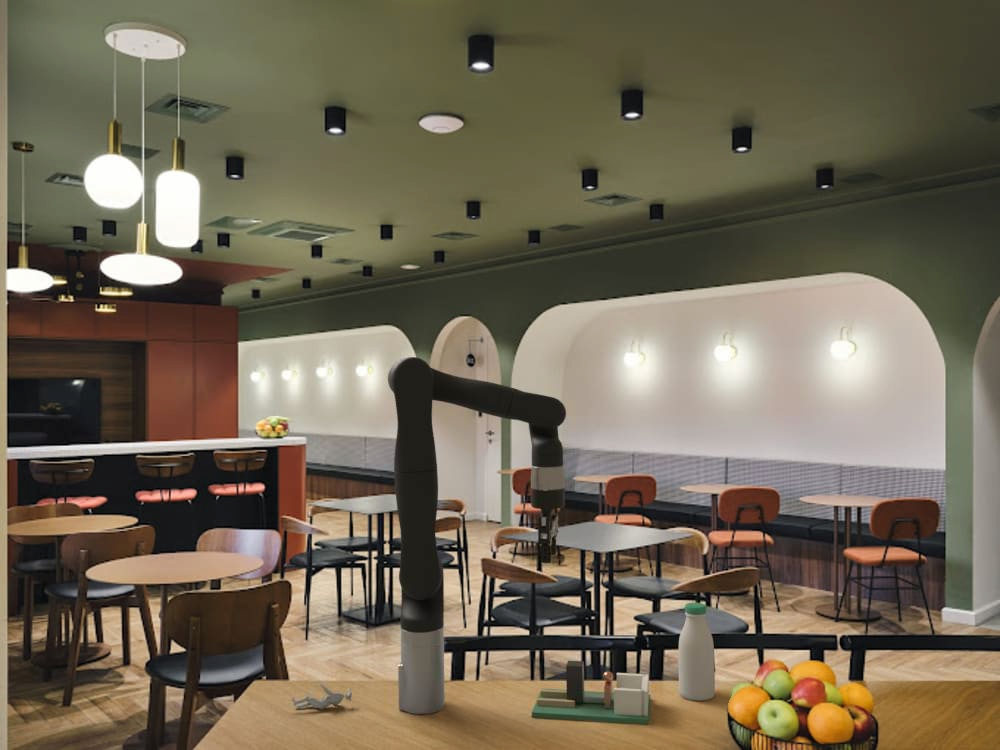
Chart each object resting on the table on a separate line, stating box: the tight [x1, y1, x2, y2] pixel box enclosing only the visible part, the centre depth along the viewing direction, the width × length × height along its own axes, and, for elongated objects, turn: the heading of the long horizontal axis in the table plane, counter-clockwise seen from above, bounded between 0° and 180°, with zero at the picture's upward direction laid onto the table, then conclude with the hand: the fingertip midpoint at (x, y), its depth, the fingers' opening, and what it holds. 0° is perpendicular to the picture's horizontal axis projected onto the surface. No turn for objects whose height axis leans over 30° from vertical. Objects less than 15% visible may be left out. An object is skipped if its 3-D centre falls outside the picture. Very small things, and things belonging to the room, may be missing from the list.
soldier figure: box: [291, 682, 352, 710], centre depth 188 cm, size 8×5×12 cm
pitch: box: [531, 688, 651, 725], centre depth 186 cm, size 24×14×2 cm, turn 79°
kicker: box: [565, 660, 614, 708], centre depth 186 cm, size 10×6×8 cm, turn 79°
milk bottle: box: [678, 602, 716, 702], centre depth 193 cm, size 8×8×20 cm
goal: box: [613, 672, 650, 716], centre depth 184 cm, size 7×10×5 cm, turn 169°
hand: (548, 558), depth 195 cm, fingers open, 8 cm apart
